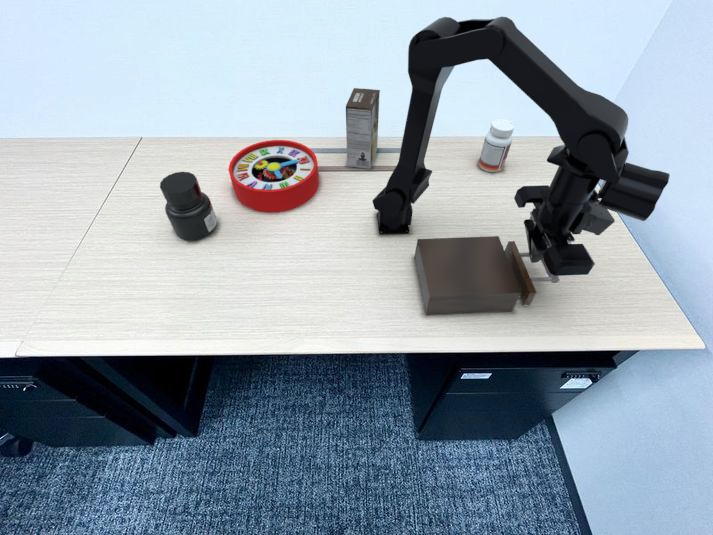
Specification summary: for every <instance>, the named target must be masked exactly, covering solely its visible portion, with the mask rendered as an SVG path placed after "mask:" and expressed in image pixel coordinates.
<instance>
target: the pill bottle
mask: <svg viewBox="0 0 713 535" xmlns="http://www.w3.org/2000/svg"><path fill="white" fill-rule="evenodd" d="M514 130H515V124H514V123H513V122H512V121H510V120H508V119H504V118H498V119H494V120H492V122H491V124H490V127H489V130H488V132H487V133H486V134H485V137H484V140H483V144H482V148H481V151H480V155H479V159H478V166H479V168H480V169H481V170H483V171H485V172H488V173H498V172H500V171H502V170H503V169H504V167H505V163H506V161H507V157H508V154H509V151H510V148H511V145H512V143H513V136H512V135H513V133H514Z"/></svg>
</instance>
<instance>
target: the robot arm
mask: <svg viewBox="0 0 713 535" xmlns="http://www.w3.org/2000/svg"><path fill="white" fill-rule="evenodd" d="M483 60H488V61H490V62H491V63H492V65H494V66H495V67H496V68H497V69H498V70H499V71H500V72H501V73H503V75H505V76H506V77H507V79H509V80H510V81H511V82H512V83H513V84H514V85H515V86H517V88H519V89H520V91H522V92H523V93H524V94H525V95H526V96H527V97H528V98H529V99H530V100H532V102H533V103H534V104H536V105H537V106H538V107H539V108H540V109H541V110H542V111H543V112H544V113H545V114H546V115H547V116H548V117H549V118H550V120H551V121H552V122H553V123H554V126H555V128H556V131H557V133H558V136H559V139H560V140H561V141H562V143H563V144H562V145H557V146H554V147H553V148H552V150H551V151H550V153H549V155H548V156H547V158H546V162H547V163H549V164H552V165H554V166H558V167H557V169H556V172H555V173H554V176H553V178H552V180H551V182H550V185H549V184H545V185H544V184H543V185H523V186H522V187H520V188H518V189H517V190H516V192H515V194H514V197H513V200H514V201H515V204H516V206H517V208H518V209H523V208H525V207H526V205H527V204H532V205H533V206H534V208H532V210H531V211H530V212H529V215H530V217H529V218H527V219H524V220H523V225H524V229H525V236H526V241H527V248H528V253H529V256H530V257H529V260H530V263H532V264H537V263H539V262H540V261H541V259H543V258H544V262H545V264H546V266H547V268H548V270H549V272H550V274H552V275H554V276H558V277H563V276H564V277H565V276H588V275H589V273H591V271H592V269H593V268H594V266H595V265H596V262H595V261H594V259H593V258H592V255H590V252H589V251H588V249H587V247H586V246H585V244H584V243H574V242H575V241H576V239H575V237H574V236H573V235H581V233H582V232H583V231H585V232H588V233H592V234H594V235H595V236H601V235H602V234H603V233H604V232H605V231H606V230H607V229H608V228H610V226H612V225H613V224H614V223H615V222H616V220H615V218H614V217H613V215H612V214H611V212H610V211H612V212H614V213H618V214H620V215H623V216H626V217H629V218H632V219H635V220H639V221H640V222H645V221H646V220H647V219H648V218H649V217H650V216H652V214H653V213H654V211H655V209H656V206H657V203H658V201H659V200H660V198H661V196H662V194H663V192H664V189H665V188H666V187H667V185H668V184H669V182H670V177H671V174H670V173H668V172H665V171H661V170H656V169H655V170H654V169H650V168H646V167H644V166H640V165H636V164H634V163H630V162H627V159H628V156H629V155H630V151H629V148H628V144H627V141H626V137H625V136H626V134H627V130H628V126H629V116H628V114H627V112H626V111H625V109H623V107H621V106H619V105H617V104H616V103H615V102H612V101H611V100H609V99H608V98H606V97H605V96H603V95H601V94H598V93H595V92H591V91H589V90H586V89H584V88H583V87H581V86H580V85H578V84H577V83H576V82H575V81H574V80H573V79H572V78H571V77H569V76H568V75H567V74H566V72H564V71H563V70H562V69H561V68H560V67H559V66H558V65H557V64H556V63H555V62H553V61H552V60H551V59H550V58H549V57H548V56H547V55H546V54H545V53H544V52H543V51H542V50H541V49H540V48H539V47H538V46H537V45H535V44H534V43H533V41H532V40H530V39H529V38H528V37H527V36H526V35H525V34H524V33H523V32H522V31H521V30H519V28H518V27H517V26H516V24H515V22H514V20H512V19H511V18H509V17H508V16H499V17H495V18H489V19H488V18H472V19H465V20H460V21H459V20H456V19H454V18H453V17H449V16H443V17H439V18H437V19H436V20H434V21H433V22H431V23H430V24H428V25H427V26H426V27H424V28H422V29H421V30H420V31H418V32H416V33H415V34H414V36H412V38H411V40H410V41H409V44H408V50H407V73H408V77H409V80H410V84H411V94H410V98H409V104H408V110H407V115H406V120H405V126H404V130H403V134H402V141H401V146H400V151H399V158H398V161H397V164H396V166H395V168H394V169H393V171H392V172H391V174H390V176H389V178H388V181H387V183H386V185H385V187H384V188H383V189H382V190H381V191H379V193H378V194H377V195H376V196H375V197H374V198H373V199H372V205H373V208H374V210H376V211H377V212H376V223H377V229H378V231H377V232H378V234H379V235H407V234H410V226H411V225H412V218H413V212H414V211H413V207H412V204H413V205H414V204H415V203H416V202H417V201H418V200H419V198H420V197H421V196H422V195H423V193H424V192H425V191H426V190H427V189H428V187H430V178H431V175H432V173H433V170H431V169H428V168H426V164H425V158H426V156H427V152H428V151H427V150H428V146H429V143H430V139H431V135H432V131H433V126H434V124H435V120H436V115H437V112H438V108H439V102H440V99H441V94H442V91H443V88H444V86H445V84H446V82H447V81H448V79H449V77H450V75H451V74H452V72H453V70H454V68H455V67H456V66H458V65H464V64H468V63H471V62H476V61H483ZM600 181H603V183H602V184H601V186H600V187H599V190H598V191H596V188H597V186H598V184H599V183H600Z"/></svg>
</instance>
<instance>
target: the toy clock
mask: <svg viewBox="0 0 713 535" xmlns="http://www.w3.org/2000/svg"><path fill="white" fill-rule="evenodd" d="M318 164H319V163H318V158H317V156H316V154H315V152H314V151H313V150H312V149H311V148H309V147H308V146H307V145H305V144H303V143H300V142H296V141H293V140H288V139H287V140H286V139H272V140H265V141H259V142H256V143H253V144H251V145H247V146H246V147H244V148H243V149H241V150H240V151H238V152H237V153H236V154H235V155H234V156H233V157H232V158H231V160H230V162H229V164H228V173H229V177H230V180H231V181H230V182H231V184H232V187H233V192H234V194H235V195H234V196H235V198H236V199H237V201H238V202H239V203H240V204H241V205H242V206H245V207H246V208H247V209H250V210H252V211H255V212H260V213H268V214H269V213H270V214H272V213H273V214H274V213H275V214H276V213H277V214H278V213H285V212H288V211H291V210H295V209H297V208H300V207H302V206H303V205H306V204H307V203H308V202H310V201H311V200H312V199H313V198H314V197H315V196H316V194H317V193H318V191H319V187H320V178H319V177H320V175H319V165H318Z"/></svg>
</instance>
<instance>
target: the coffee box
mask: <svg viewBox="0 0 713 535" xmlns="http://www.w3.org/2000/svg"><path fill="white" fill-rule="evenodd" d="M380 93H381V90H380V89H371V88H358V87H353V89H352V91H351V93H350V96H349V98H348V100H347V102H346V104H345V132H346V133H345V136H346V137H345V138H346V139H345V140H346V166H347V167H350V168H359V169H367V170H371V169H372V166H373V164H374V161H375V157H376V154H377V152H378V139H379V138H378V137H379V118H380V117H379V114H380V95H381V94H380Z"/></svg>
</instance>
